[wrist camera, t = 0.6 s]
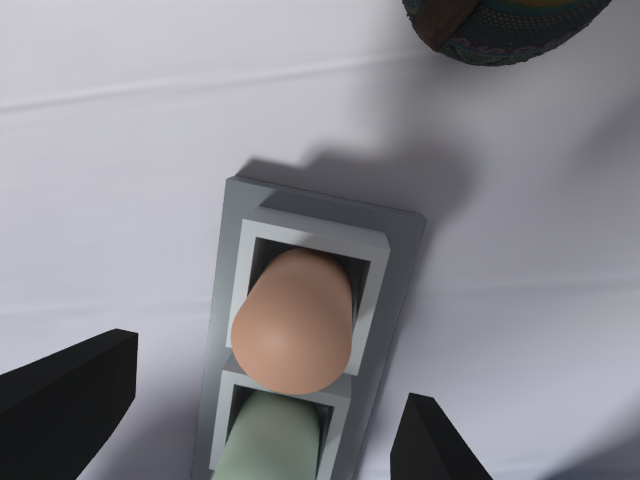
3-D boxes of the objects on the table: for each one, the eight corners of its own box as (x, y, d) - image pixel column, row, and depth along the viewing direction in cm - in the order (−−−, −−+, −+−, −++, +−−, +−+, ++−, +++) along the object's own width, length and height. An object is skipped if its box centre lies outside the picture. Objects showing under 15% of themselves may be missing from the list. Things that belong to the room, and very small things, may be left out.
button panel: (330, 537, 24) (325, 608, 20) (193, 505, 24) (166, 570, 21) (421, 214, 17) (438, 236, 14) (234, 175, 18) (204, 187, 14)
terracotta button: (341, 342, 17) (337, 405, 13) (253, 322, 17) (224, 379, 13) (361, 258, 15) (364, 301, 12) (267, 238, 16) (238, 274, 12)
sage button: (312, 461, 19) (301, 547, 15) (234, 443, 19) (204, 524, 15) (328, 396, 18) (321, 471, 14) (245, 378, 18) (215, 447, 14)
